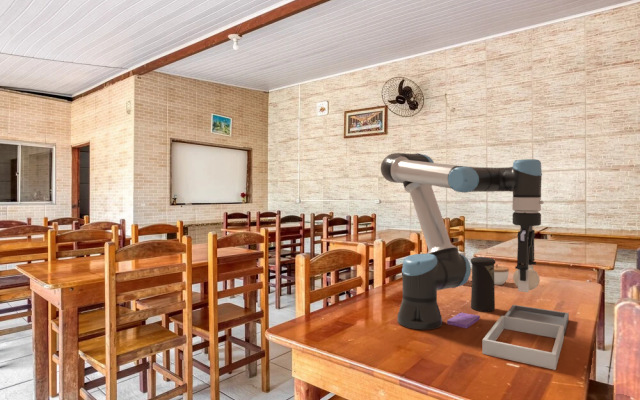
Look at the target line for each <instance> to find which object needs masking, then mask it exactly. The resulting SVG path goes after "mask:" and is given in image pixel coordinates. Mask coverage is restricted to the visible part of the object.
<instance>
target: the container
mask: <svg viewBox="0 0 640 400" xmlns="http://www.w3.org/2000/svg"><path fill="white" fill-rule="evenodd" d="M470 264H471V294H470V295H471V297H470V308H471V309H472V310H474V311H478V312H485V313H487V312H488V313H489V312H494V311H495V307H496V299H495V298H496V297H495V296H496V295H495V294H496V293H495V285H494V266H496V260H495V259H494V258H491V257H486V256H483V257H482V256H477V257H471V259H470Z"/></svg>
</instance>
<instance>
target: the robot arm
mask: <svg viewBox="0 0 640 400" xmlns="http://www.w3.org/2000/svg"><path fill="white" fill-rule="evenodd" d="M542 171H543V170H542V163H541V161H540V160H539V159H535V158H533V159H532V158H529V159H528V158H527V159H523V158H522V159H516V160H514V161H513V163H512V166H510V167H483V166H482V167H477V166H465V165H456V164H446V163H438V162H434V160H433V159H432V158H431V157H430V156H429V155H426V154H424V153H423V154H422V153H406V152H405V153H404V152H403V153H402V152H401V153H400V152H394V153H391V154H388V155H387V156H385V157H384V158H383V160H382V162H381V165H380V173H381V175H382V178H384V179H385V180H386V181H388V182H391V183H395V184H396V183H399V184H403V188H404V191H406V192H407V193H409V194H410V197H411V201H412V203H413V206H414V209H415V212H416V216H417V218H418V221H419V226H420V228H421V231H422V234H423V237H424V241H425V244H426V246H427V250H428V251H427V253H420V254H419V253H415V254H412V255H411V254H410V255H408V256H405V258H404V259H403V261H402V268H401V272H402V274H401V276H402V277H401V278H402V299H401V300H402V301H401V303H400V306H399V310H398V313H397V323H398V324H399V325H400V326H402V327H405V328H408V329H413V330H419V331H421V330H424V331H425V330H427V331H428V330H436V329H438V328H440V327H442V325H443V316H442V314H441V311H440V307H439V304H438V300H437V299H438V297H437V296H438V291H441V290H446V289H455V288H458V287H461V286H463V285H465V284H466V283H467V282H468V281H469V279H470V277H471V274H472V266H471V262H470V261H469V259H468V258H467V257H466V256H465V257H464V255H461V254H459V252H458V251H459V250H458V247H457V246H456V245H453V244H452V242H451V239H450V236H449V233H448V230H447V228H446V225H445V222H444V219H443V216H442V213H441V209H440V207H439V204H438V201H437V198H436V195H435V192H434V189H433V187H441V188H445V189H450V190H451V189H452V190H453V191H455V192H458V193H475V192H476V193H477V192H482V193H483V192H484V193H485V192H487V193H489V192H490V193H494V192H512V205H511V206H512V208H511V210H512V211H514V212H513V213H512V224H513V225H514V226H520V228H519V231H517V252H516V253H517V254H516V255H517V256H516V257H517V258H516V265H515V266H514V267H515V270H517V269H518V287H517V291H518V292H523V293H529V292H530V290H529V269H528V268H532V269H534V265H535V266H536V265H537V261H535V236H536V231H535V229H533V227H538V226H540V225H542V214H541V213H540V211H541V210H542V205H543V204H544V201H543V200H542V178H543V172H542Z"/></svg>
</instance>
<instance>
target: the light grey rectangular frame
mask: <svg viewBox="0 0 640 400" xmlns="http://www.w3.org/2000/svg"><path fill="white" fill-rule="evenodd" d="M504 330H510V331H515V332H520V333H526V334H530V335H535V336H536V335H537V336H542V337H547V338H548V337H549V338H553V339H555V341H554V345H553V347H552V349H551V350H552V351H551V352H550V351H545V350H541V349H536V348H531V347H526V346H521V345H517V344H511V343H507V342H501V341H497V340H498V338H499V337H500V336H501V334H502V332H503V331H504ZM564 337H565V336H564V326H562V325H556V324H550V323H544V322H538V321H532V320H526V319H520V318H514V317H508V316H505V315H500V317H499V318H498V319H497V321H496V322H495V323H494V324H493V326H492V327H491V328H490V329H489V331H488V332H487V333H486V334H485V336H484V337H483V338H482V341H481V342H482V346H481V347H482V352H481V353H482V354H483V355H487V356H491V357H495V358H500V359H504V360H510V361H513V362H518V363H523V364H527V365H531V366H536V367H540V368H545V369H550V370H554V371H556V369H557V366H558V362H559V360H560V359H559V358H560V355H561V350H562V348H563V343H564Z"/></svg>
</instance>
